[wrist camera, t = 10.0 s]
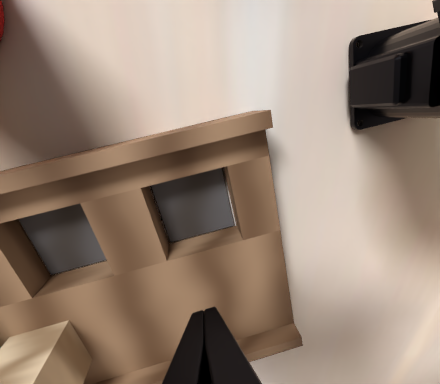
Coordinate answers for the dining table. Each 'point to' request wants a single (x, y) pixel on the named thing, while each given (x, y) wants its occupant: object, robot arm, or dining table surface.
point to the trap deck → (148, 246)
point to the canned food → (1, 20)
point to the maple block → (45, 357)
